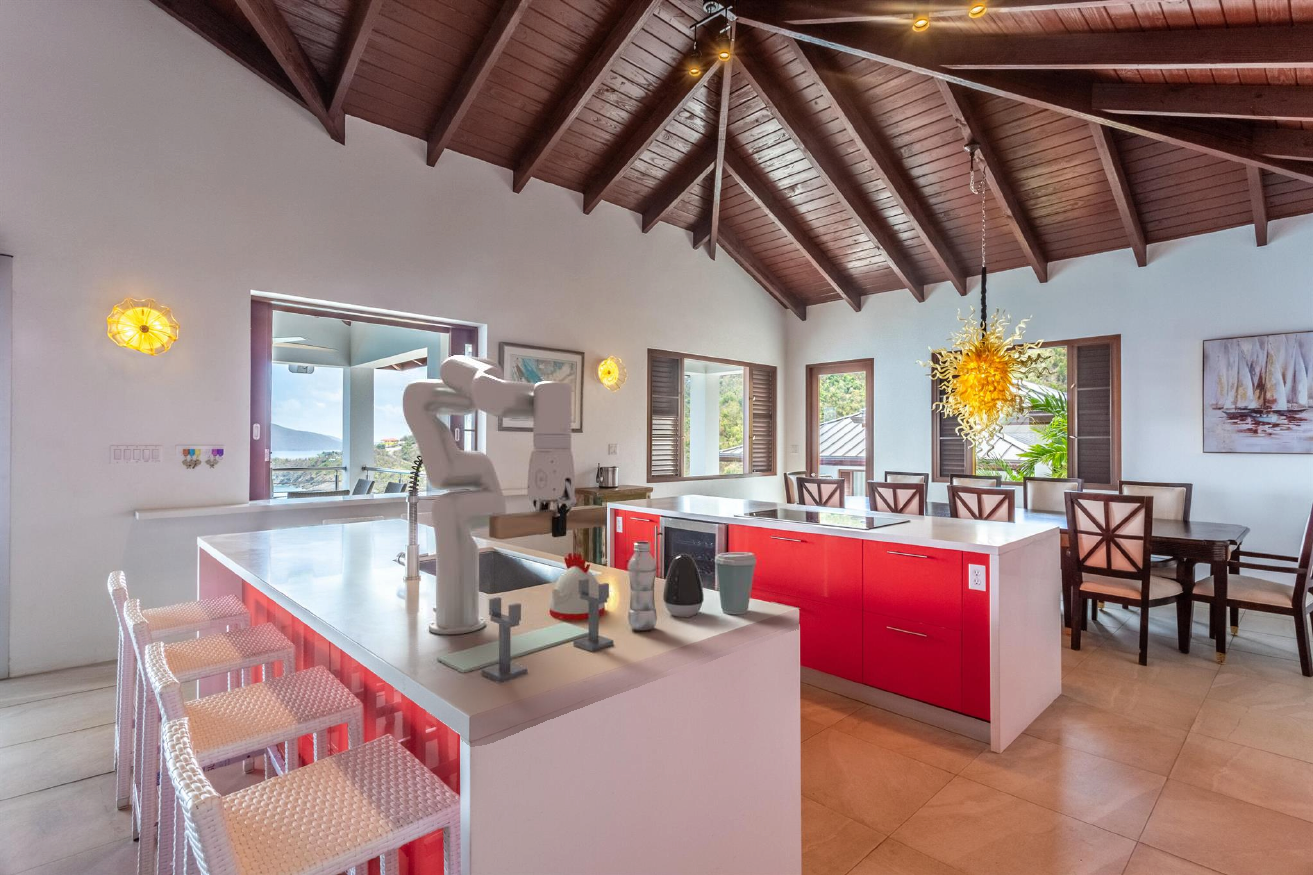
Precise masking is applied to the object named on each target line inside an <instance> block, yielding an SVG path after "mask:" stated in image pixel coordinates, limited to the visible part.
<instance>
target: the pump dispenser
mask: <svg viewBox="0 0 1313 875" xmlns="http://www.w3.org/2000/svg"><path fill="white" fill-rule="evenodd" d="M695 558H696V555H695V554H694V553H691V554H690V555H689V554H687V553H679V554H677V555H675V557H674V558H673V559H672V561H671V562H670V564H669V567H668V570H667V572H666V573H667V574H666V577H665V582H664V587H663V594H662V596H663V597H662V599H663V600H662V601H663V602H664V606H665V608H666V610H667V612H669V614H671V615H673V616H675V617H680V618H689V617H693V616H695V615H696V614H698V613H699V612H700V610H701V608H702V606H703V602H704V599H705V597H704V596H705V595H704V589H703V588H704V587H703V583H702V578H701V575H700V572H699V568H698V565H697V563H696V562H695V560H694V559H695Z"/></svg>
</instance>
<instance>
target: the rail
mask: <svg viewBox="0 0 1313 875" xmlns="http://www.w3.org/2000/svg"><path fill="white" fill-rule="evenodd" d="M607 510H608V509H607V505H605V506H604V505H596V504H593V505H583V506H573V507H571V509H570V511H569V515H568V516H567V520H566V532H568V531H574V530H580V529H588V528H589V529H590V528H598V527H604V526H607ZM552 517H555V516H554V509H553V508H552V509H551V508H550V510H540V511H535V510H532V511H523V512H522V511H521V512H512V513H506V514H500V515H490V516H489V528H488V537H489V538H492V539H496V540H507V539H514V538H516V539H517V538H523V537H529V536H536V535H537V536H538V535H539V534H542V535H547V534H546V533H549V534H552Z"/></svg>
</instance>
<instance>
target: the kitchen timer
mask: <svg viewBox="0 0 1313 875" xmlns="http://www.w3.org/2000/svg"><path fill="white" fill-rule="evenodd" d="M586 562H587V559H586V558H582V553H579V554H577V552H576V553H573V554H572V552H570V553H568V556H565V557H564V564H565V566H566V570H565V571H564V572H563V573H562V574H561V575H560V577H558V580H557V581H556V584H555V585H554V588H553V589H552V591H551V597H550V601H549V616H550V615H551V616H550V617H552V618H554V619H558V620H562V621H563V620H564V621H585V620H589V601H587V600H583V599H580V594H579V580H580V579H585V578H587V579H589V593H592V594H595V595H599V584H601V583H600V582H598V580H597V578H596V576H595V575H594V574H593V572H591V571H590V566H591V564H590V563H589V564H586ZM605 604H606V603H603V604H599V617H601V616H603V615H604V614H605V611H606V608H605V607H606V606H605Z"/></svg>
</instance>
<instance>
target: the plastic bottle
mask: <svg viewBox="0 0 1313 875" xmlns="http://www.w3.org/2000/svg"><path fill="white" fill-rule="evenodd" d="M633 543H634V546H633V551H634V554H633V555H632V556H631V558H629V561H628V563H627V570H628V576H629V585H630V598H629V599H630V601H629V609H628V613H627V614H628V616H627V620H628V625H629V627H630V629H632V630H636V631H650V630H652V629H654V628H655V626H656V625H657V620H658V616H657V610H656V604H655V601H656V600H655V579H656V573H657V564H656V561H655V559H654V557H653V556H652V555H651V553H650V552H651V551H652V550H651V542H650V541H645V540H644V541H635V542H633Z"/></svg>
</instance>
